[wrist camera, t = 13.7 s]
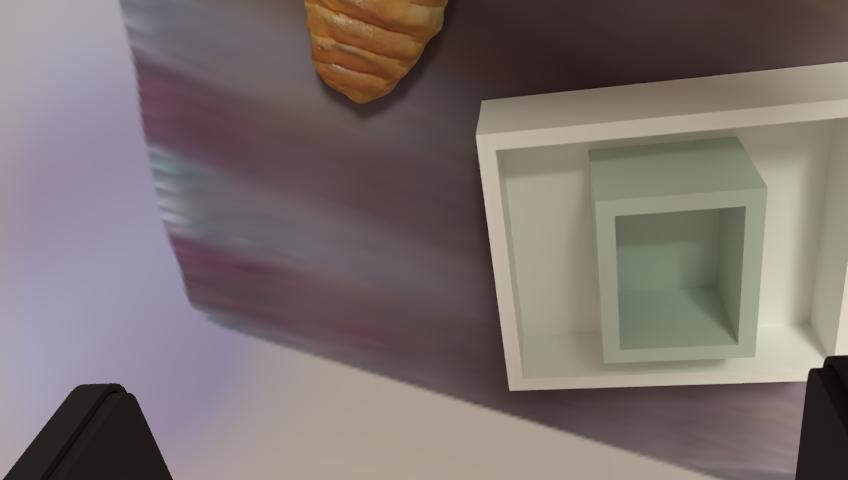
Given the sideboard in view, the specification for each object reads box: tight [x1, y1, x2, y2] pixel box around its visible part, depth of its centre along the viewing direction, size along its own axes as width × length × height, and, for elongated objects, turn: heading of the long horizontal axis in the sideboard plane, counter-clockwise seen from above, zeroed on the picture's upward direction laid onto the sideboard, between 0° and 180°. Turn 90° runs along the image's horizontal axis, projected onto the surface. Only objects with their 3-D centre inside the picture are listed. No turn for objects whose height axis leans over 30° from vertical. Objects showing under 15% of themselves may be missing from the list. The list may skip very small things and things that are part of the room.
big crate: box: [476, 62, 848, 391], centre depth 38 cm, size 15×17×4 cm
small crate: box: [588, 136, 767, 363], centre depth 36 cm, size 9×7×6 cm
